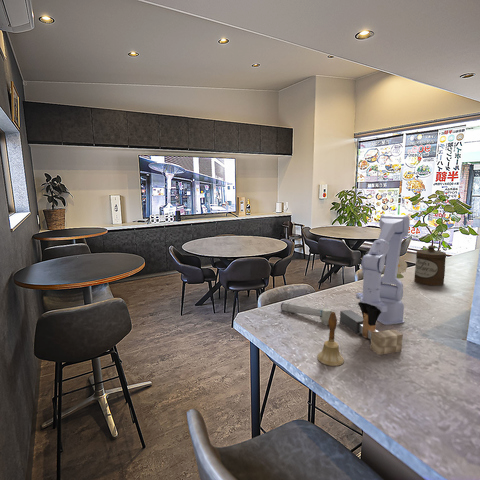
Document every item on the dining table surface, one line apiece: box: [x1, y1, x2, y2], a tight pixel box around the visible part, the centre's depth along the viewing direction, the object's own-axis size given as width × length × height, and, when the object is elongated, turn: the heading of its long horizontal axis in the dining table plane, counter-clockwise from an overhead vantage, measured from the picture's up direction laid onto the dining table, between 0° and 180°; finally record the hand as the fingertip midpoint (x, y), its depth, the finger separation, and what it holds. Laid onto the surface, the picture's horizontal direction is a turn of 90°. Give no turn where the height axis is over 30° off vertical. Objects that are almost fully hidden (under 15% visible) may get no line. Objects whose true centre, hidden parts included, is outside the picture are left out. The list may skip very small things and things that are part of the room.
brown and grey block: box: [358, 312, 379, 341], centre depth 112 cm, size 4×16×9 cm, turn 14°
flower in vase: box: [381, 256, 408, 285], centre depth 134 cm, size 13×11×25 cm
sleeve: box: [339, 309, 363, 335], centre depth 119 cm, size 5×11×5 cm, turn 14°
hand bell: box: [316, 311, 345, 367], centre depth 95 cm, size 8×8×16 cm
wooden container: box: [414, 244, 447, 287], centre depth 175 cm, size 15×15×22 cm
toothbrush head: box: [280, 301, 333, 326], centre depth 129 cm, size 5×7×25 cm
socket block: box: [370, 328, 404, 356], centre depth 101 cm, size 9×4×6 cm, turn 104°
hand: (369, 323), depth 109 cm, fingers closed on brown and grey block, 2 cm apart
